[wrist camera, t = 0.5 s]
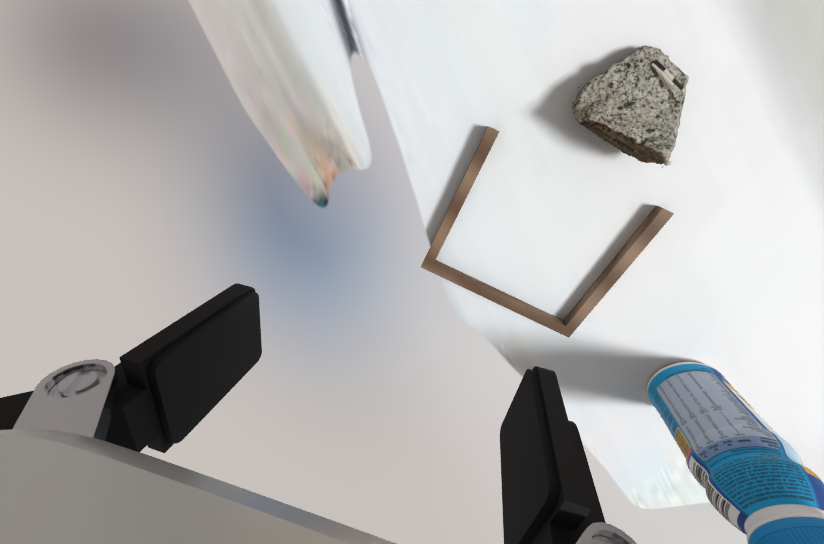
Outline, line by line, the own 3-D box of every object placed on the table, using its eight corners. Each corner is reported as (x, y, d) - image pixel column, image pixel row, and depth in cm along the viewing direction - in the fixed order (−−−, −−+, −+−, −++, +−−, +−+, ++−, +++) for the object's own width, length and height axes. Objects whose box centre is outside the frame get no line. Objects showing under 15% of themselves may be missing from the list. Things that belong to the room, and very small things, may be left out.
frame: (488, 126, 33) (488, 126, 32) (667, 210, 33) (674, 213, 31) (422, 263, 41) (420, 267, 40) (566, 331, 40) (568, 337, 39)
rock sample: (763, 44, 23) (711, 113, 21) (695, 131, 30) (650, 190, 28) (624, 10, 28) (568, 65, 25) (592, 93, 34) (545, 142, 32)
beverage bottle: (673, 348, 38) (833, 540, 21) (741, 375, 38) (964, 595, 20) (629, 394, 42) (732, 589, 25) (690, 419, 42) (840, 636, 24)
